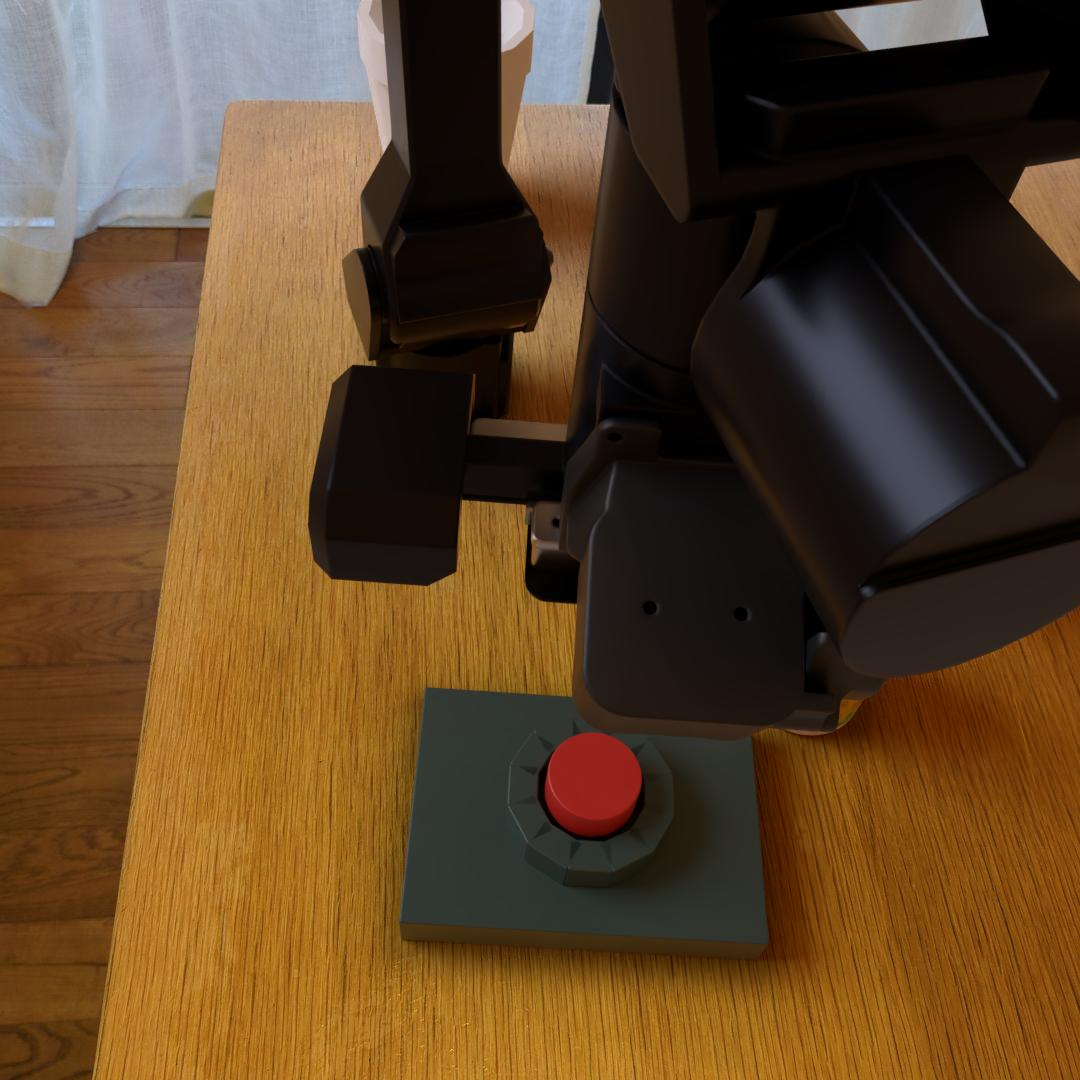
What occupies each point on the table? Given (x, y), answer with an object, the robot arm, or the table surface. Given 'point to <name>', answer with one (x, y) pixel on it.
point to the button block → (578, 839)
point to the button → (592, 784)
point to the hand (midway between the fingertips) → (623, 644)
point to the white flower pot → (513, 63)
